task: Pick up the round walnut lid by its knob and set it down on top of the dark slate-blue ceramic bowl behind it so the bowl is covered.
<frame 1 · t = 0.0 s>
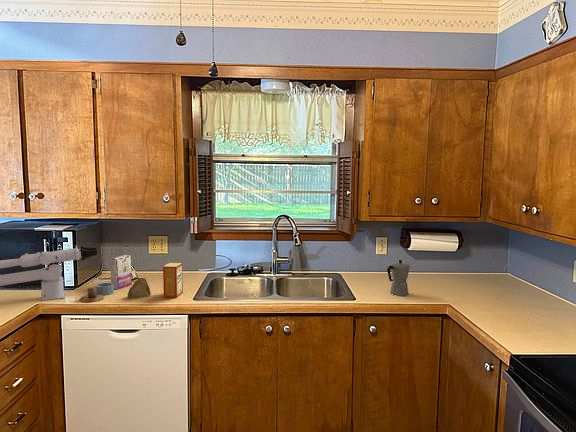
hand: (96, 251, 211), 22 cm above the worktop, tool horizontal, fingers open, 7 cm apart
baking soda box: (173, 295, 210), on the worktop
rock: (138, 296, 208), on the worktop
slate bowl: (104, 293, 213), on the worktop
coffeepot: (397, 294, 217), on the worktop
candy bar box: (121, 287, 226), on the worktop
walnut lid: (92, 299, 202), on the worktop
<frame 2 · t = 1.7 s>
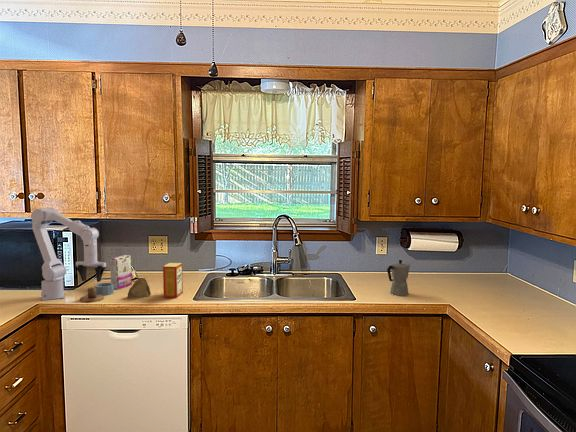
hand: (91, 281, 201), 9 cm above the worktop, tool pointing down, fingers open, 7 cm apart
nothing on the worktop moved.
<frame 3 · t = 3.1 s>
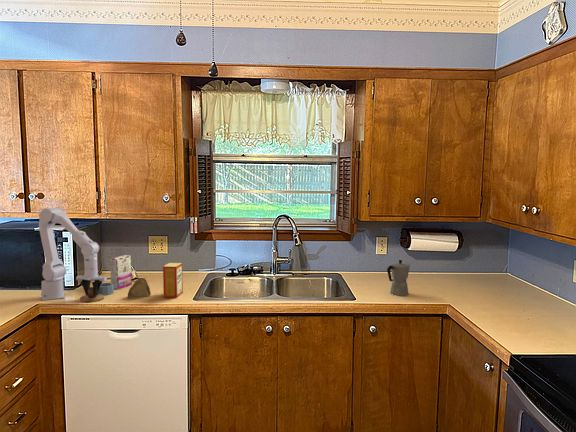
hand: (91, 295, 202), 2 cm above the worktop, tool pointing down, fingers closed on walnut lid, 4 cm apart
walnut lid: (92, 299, 202), on the worktop, touching gripper
everything else where it was.
when the fingers open (8 cm above the worktop, at t = 5.4 s): walnut lid drops 1 cm, resting on slate bowl.
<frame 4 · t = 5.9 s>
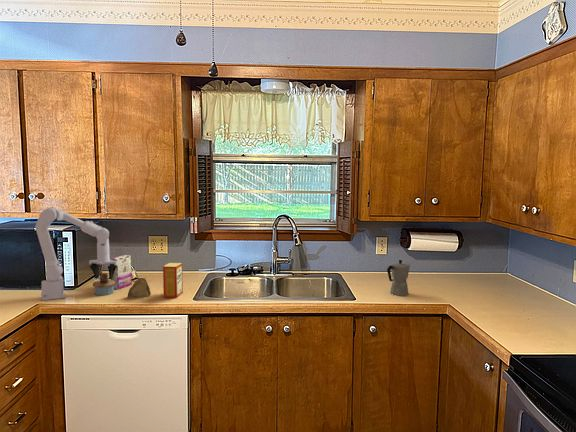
hand: (104, 278, 212), 8 cm above the worktop, tool pointing down, fingers open, 7 cm apart
walnut lid: (104, 284, 212), point 4 cm above the worktop, touching slate bowl
everything else where it was.
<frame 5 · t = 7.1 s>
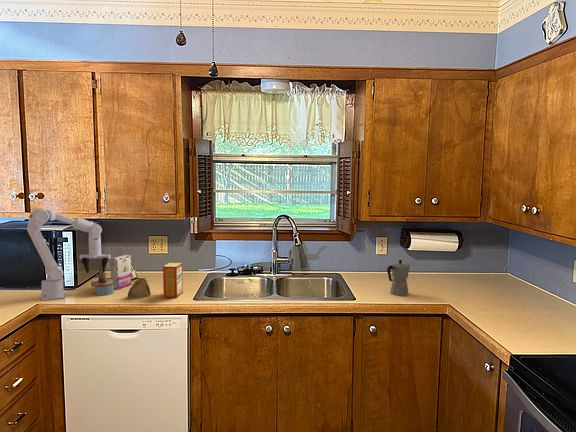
hand: (95, 272, 215), 10 cm above the worktop, tool pointing down, fingers open, 7 cm apart
walnut lid: (102, 284, 213), point 4 cm above the worktop, touching slate bowl
everything else where it was.
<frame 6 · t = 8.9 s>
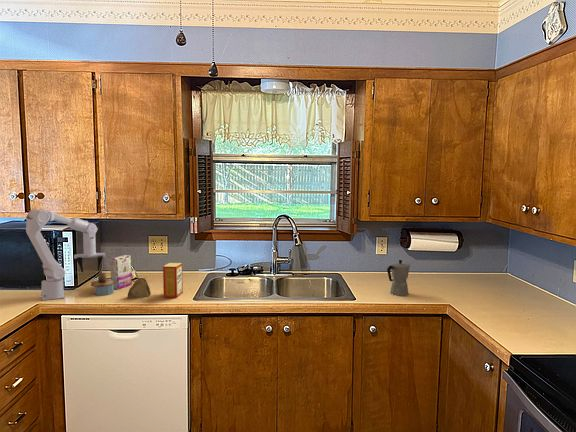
hand: (90, 271, 218), 10 cm above the worktop, tool pointing down, fingers open, 7 cm apart
nothing on the worktop moved.
at the end: walnut lid 1.4 cm off-centre on the slate bowl, point 4.4 cm above the slate bowl's base; walnut lid tilted 0°; the gripper is holding nothing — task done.
